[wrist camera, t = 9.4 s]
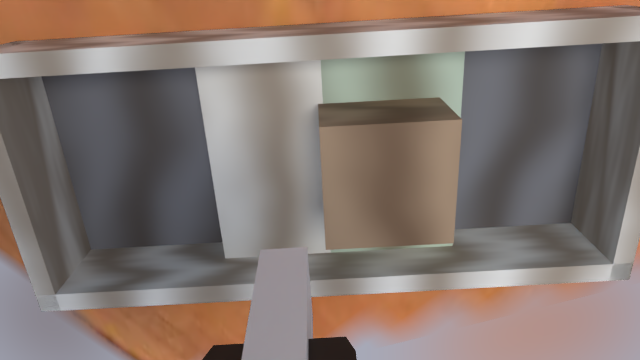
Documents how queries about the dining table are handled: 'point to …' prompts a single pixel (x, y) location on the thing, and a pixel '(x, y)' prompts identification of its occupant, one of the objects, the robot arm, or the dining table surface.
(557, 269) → the box
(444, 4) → the dining table surface
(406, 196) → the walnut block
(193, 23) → the dining table surface
